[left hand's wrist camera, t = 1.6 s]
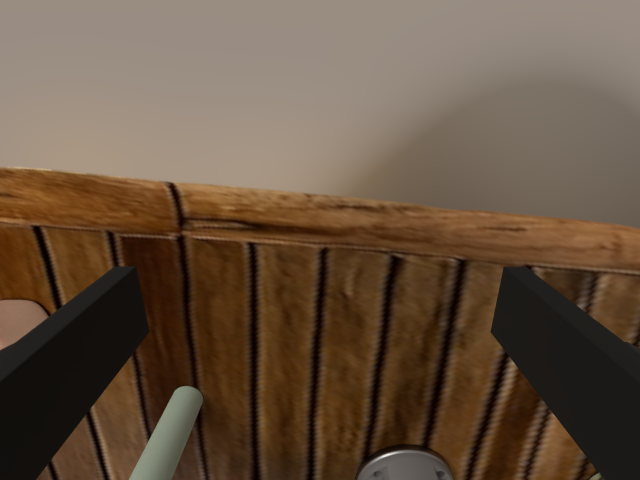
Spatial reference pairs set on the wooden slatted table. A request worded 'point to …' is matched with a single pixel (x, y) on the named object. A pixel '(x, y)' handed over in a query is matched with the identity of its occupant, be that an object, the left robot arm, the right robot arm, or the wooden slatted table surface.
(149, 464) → the pale green slim bottle
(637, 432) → the left robot arm
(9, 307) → the anatomical model
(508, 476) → the wooden slatted table surface
